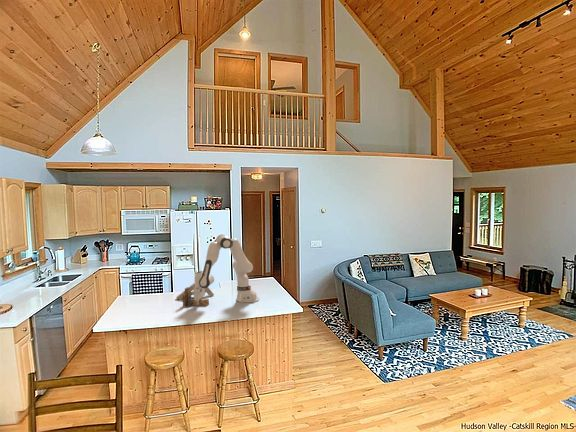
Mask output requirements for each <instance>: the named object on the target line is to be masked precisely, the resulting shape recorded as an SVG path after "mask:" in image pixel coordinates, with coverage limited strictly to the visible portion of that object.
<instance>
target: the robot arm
mask: <svg viewBox="0 0 576 432" xmlns="http://www.w3.org/2000/svg"><path fill="white" fill-rule="evenodd" d="M221 249H229V250H230V253H231V256H232V258H233V260H234V261H233V263H232V268H233V270H234V272H235V275H236V281H237V283H236V284H237V286H236V292H237V293H236V294H237V295H236V301H237V302H238V303H240V304H241V303H242V304H244V303H257V302H258V301H259V300H260V297H259V296H258V295H257V292H256V291H254V290H253V289H252V285H250V283H249V282H250V281H249V276H248V275H247V274H248V273H251V272H252V271H253V269H254V266H253V263H252V262H251V261H249V258H247V257H246V255H245V252H244V250H243V247H242V244H241V243H240V241H239V239H238V238H237V237H236V238H234V237H233V238H229V236H227V235H226V234H220V235H218V236H217V237H216V238H215V240H214V241H212V242H210V243H209V245H208V247H207V252H206V257H205V262H204V266H203V270H200V271H196V272H195V274H194V283H195V288H194V290H192V291H193V292H194V295H193V297H194V300H195V301H197V304H200V303H199V300H200V299H204V296H205V295H206V293H205V288H207V287H208V288H209V287H210V286H211V285H212V284H213V283H214V282H215V277H214V276H213V275H212V274H211V270H212V268H213V266H214V265H215V264H216V263H217V262H218V259H219V256H220V251H221Z"/></svg>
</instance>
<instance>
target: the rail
mask: <svg viewBox="0 0 576 432" xmlns="http://www.w3.org/2000/svg"><path fill="white" fill-rule="evenodd" d="M192 297H193V296H191V298H190V299H192V304H193V305H192V306H209V305H210V300H209V298H203V299H200V300H199V303H200V304H197V301H195V300H194V299H193V298H192Z"/></svg>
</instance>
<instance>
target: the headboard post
mask: <svg viewBox="0 0 576 432" xmlns="http://www.w3.org/2000/svg"><path fill="white" fill-rule="evenodd" d="M184 291H185V293H184V294H183V298H182V307H183V308H186V307H193V306H194V305H193V304H192V299H190V298H191V297H192V298H193V299H194V296H192V295H191V292H192V291H191V290H190V286H189V287H186V288H184Z"/></svg>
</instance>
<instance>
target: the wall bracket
mask: <svg viewBox="0 0 576 432" xmlns="http://www.w3.org/2000/svg"><path fill="white" fill-rule="evenodd" d="M189 287H190V290H191V296H194V292H193V290H194V288H195V282H193V283H192V284H191V285H189ZM184 293H185V290H183V291H182V292H181V293H179V294H178V295H177V296H175V297H176V300H183V294H184ZM206 293H207V295H208V296H211V297H214V295H215V294H214V292H213V291H212V290H211V289H210V288H209V286H208V287H207V288H205V294H206Z"/></svg>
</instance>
